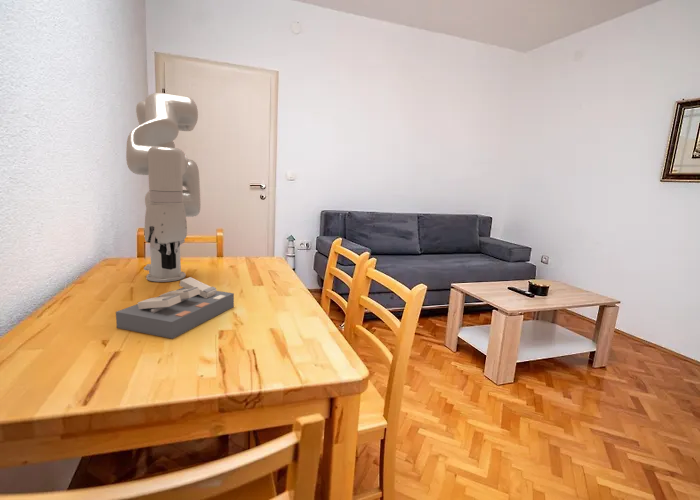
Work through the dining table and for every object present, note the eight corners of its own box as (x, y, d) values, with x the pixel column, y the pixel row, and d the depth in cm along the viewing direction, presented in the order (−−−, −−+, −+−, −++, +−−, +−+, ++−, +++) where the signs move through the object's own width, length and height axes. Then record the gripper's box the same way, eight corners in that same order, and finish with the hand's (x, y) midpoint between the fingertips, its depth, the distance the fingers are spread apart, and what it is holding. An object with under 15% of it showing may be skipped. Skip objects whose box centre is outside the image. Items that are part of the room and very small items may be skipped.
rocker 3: (179, 285, 101) (180, 279, 101) (189, 282, 105) (190, 276, 105) (206, 298, 100) (207, 292, 99) (215, 294, 103) (216, 288, 103)
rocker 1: (139, 309, 89) (137, 301, 88) (152, 304, 92) (150, 296, 92) (168, 306, 86) (167, 298, 86) (181, 301, 90) (179, 294, 89)
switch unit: (116, 327, 87) (115, 308, 87) (187, 299, 110) (186, 283, 109) (172, 338, 83) (171, 318, 82) (233, 306, 106) (233, 290, 105)
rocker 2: (161, 301, 95) (159, 293, 95) (172, 296, 99) (171, 289, 99) (189, 297, 92) (187, 290, 92) (200, 293, 96) (198, 286, 96)
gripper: (175, 195, 100) (177, 260, 104) (129, 198, 86) (133, 273, 90) (199, 197, 98) (200, 263, 102) (155, 200, 84) (158, 277, 88)
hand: (169, 268), depth 96 cm, fingers closed
